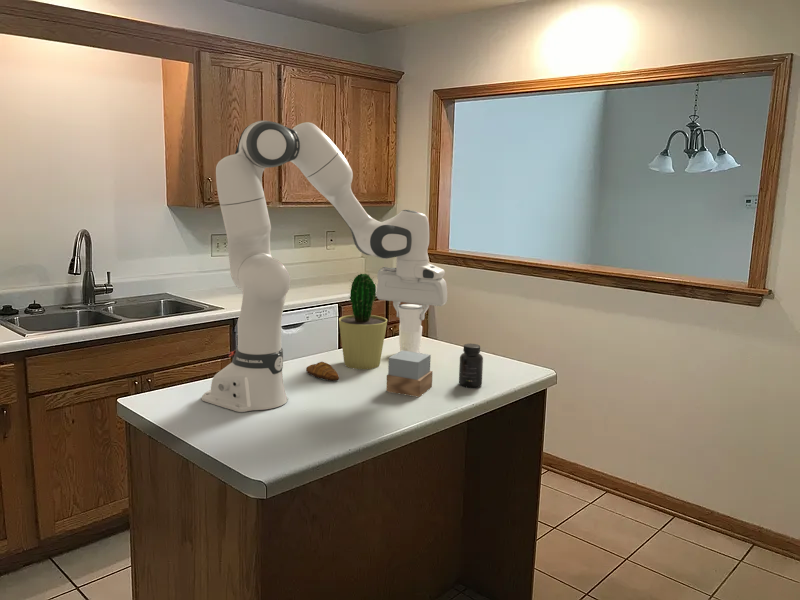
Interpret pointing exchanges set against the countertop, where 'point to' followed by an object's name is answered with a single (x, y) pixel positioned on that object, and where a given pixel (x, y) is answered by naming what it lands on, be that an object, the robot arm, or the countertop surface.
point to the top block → (409, 365)
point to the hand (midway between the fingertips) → (410, 318)
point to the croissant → (323, 371)
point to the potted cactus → (362, 327)
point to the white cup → (410, 341)
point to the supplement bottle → (471, 366)
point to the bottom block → (409, 385)
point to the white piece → (410, 317)
